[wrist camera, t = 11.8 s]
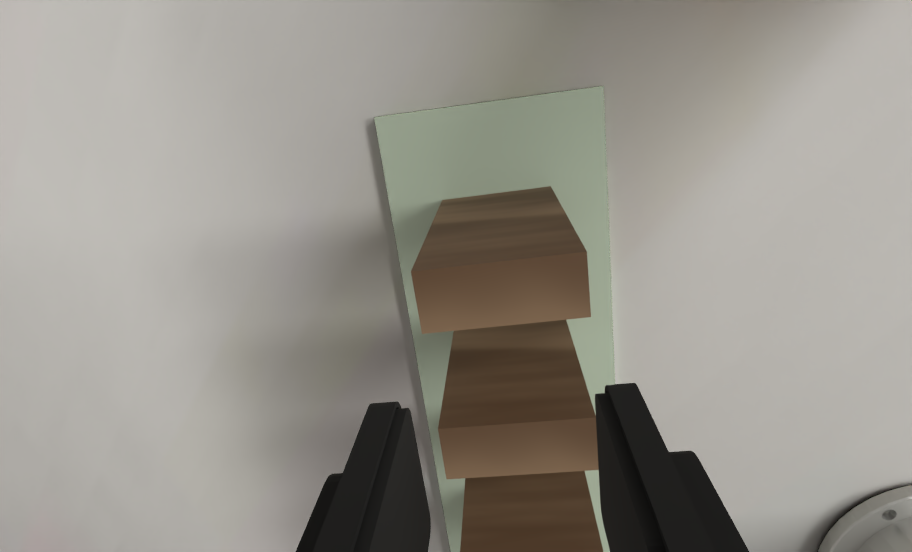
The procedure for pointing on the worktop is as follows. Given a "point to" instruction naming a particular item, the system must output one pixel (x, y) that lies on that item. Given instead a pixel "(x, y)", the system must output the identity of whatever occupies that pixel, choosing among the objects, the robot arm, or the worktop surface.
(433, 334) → the mat
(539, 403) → the domino
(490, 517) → the domino
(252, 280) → the worktop surface
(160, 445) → the worktop surface
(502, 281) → the domino
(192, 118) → the worktop surface
